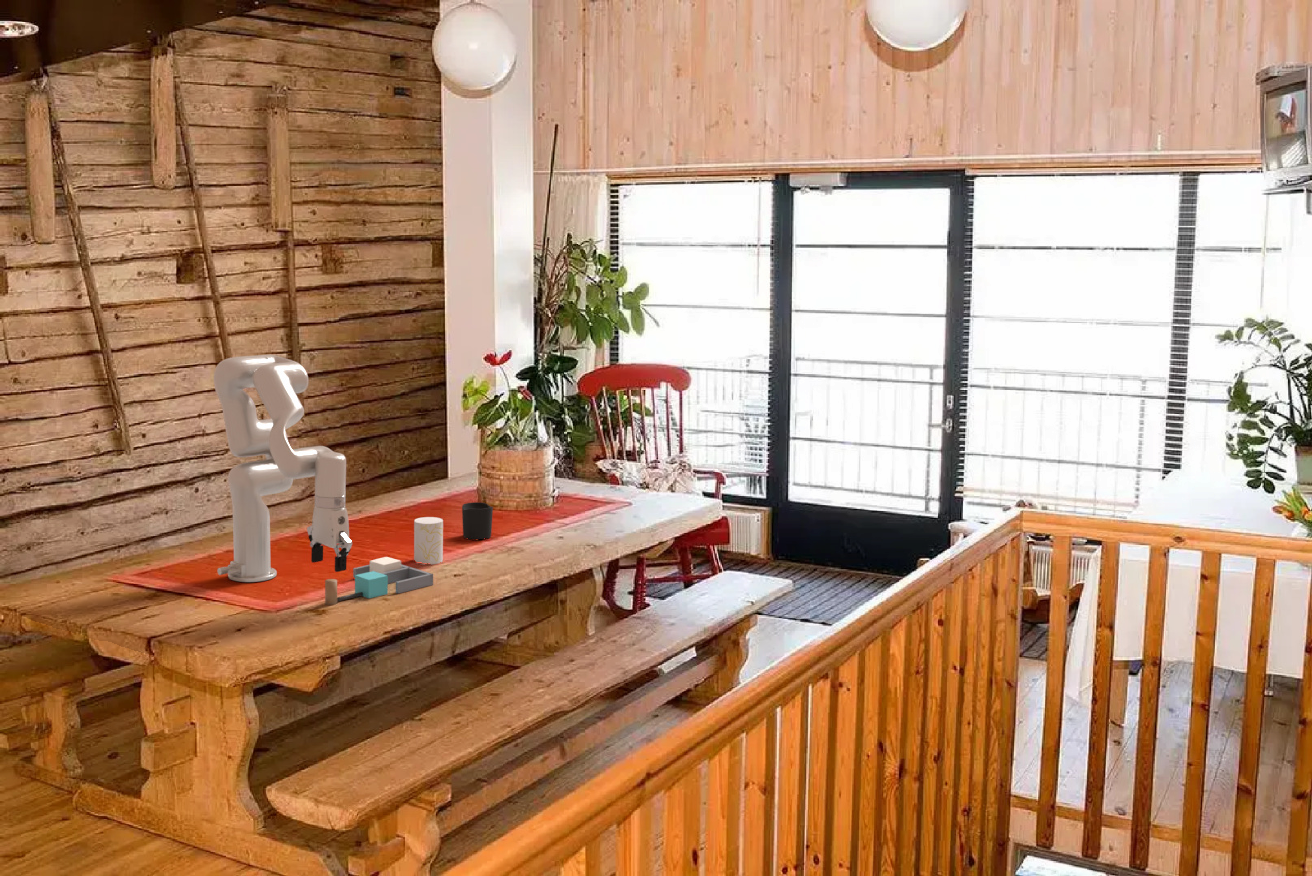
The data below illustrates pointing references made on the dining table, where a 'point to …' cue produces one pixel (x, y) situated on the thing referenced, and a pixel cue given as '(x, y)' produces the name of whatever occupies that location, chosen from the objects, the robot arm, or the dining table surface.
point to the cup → (428, 540)
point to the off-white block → (384, 565)
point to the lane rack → (403, 577)
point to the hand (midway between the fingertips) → (328, 566)
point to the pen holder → (477, 520)
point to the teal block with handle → (358, 587)
